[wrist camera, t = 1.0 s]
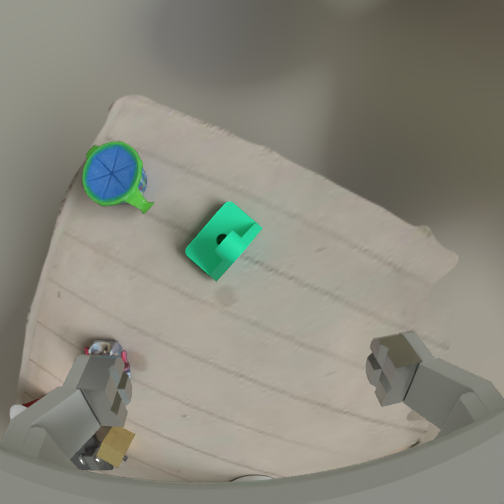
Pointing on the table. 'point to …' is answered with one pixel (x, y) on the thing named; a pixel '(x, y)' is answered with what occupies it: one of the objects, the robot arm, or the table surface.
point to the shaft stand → (90, 457)
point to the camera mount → (237, 240)
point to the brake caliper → (108, 351)
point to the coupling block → (115, 445)
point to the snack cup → (115, 176)
